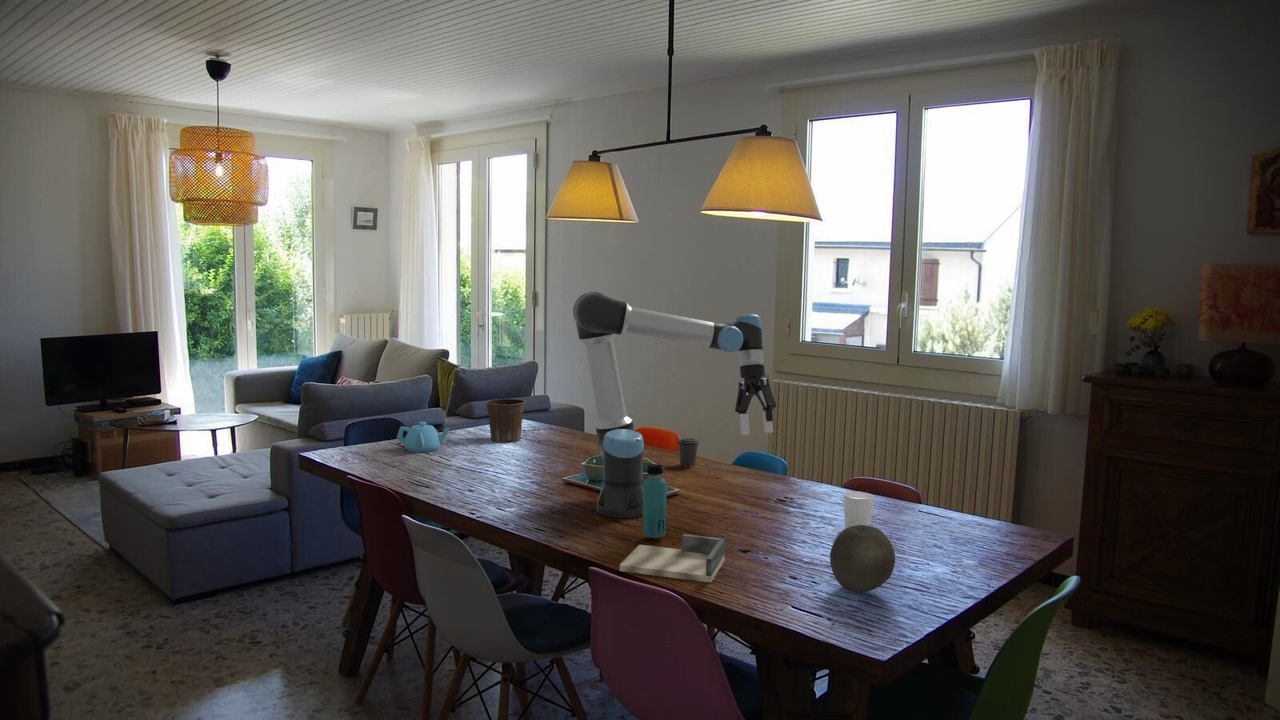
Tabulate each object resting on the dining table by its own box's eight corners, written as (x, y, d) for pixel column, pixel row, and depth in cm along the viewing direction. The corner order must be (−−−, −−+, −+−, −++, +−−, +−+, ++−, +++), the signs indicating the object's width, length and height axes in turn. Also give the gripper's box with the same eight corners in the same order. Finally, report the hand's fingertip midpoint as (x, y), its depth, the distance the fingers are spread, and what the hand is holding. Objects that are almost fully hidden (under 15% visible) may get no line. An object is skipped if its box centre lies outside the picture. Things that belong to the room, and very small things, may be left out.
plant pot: (479, 442, 346) (479, 403, 344) (492, 435, 362) (493, 397, 360) (518, 444, 343) (518, 405, 341) (529, 437, 359) (530, 399, 357)
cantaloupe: (824, 598, 187) (827, 531, 185) (833, 577, 200) (836, 514, 198) (890, 608, 182) (894, 540, 180) (895, 586, 195) (899, 522, 193)
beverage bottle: (658, 544, 221) (660, 469, 219) (636, 540, 224) (638, 465, 222) (670, 538, 226) (672, 464, 224) (649, 533, 230) (651, 461, 228)
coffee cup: (702, 465, 313) (703, 438, 312) (691, 469, 306) (692, 442, 305) (683, 462, 317) (684, 436, 316) (672, 466, 310) (673, 439, 309)
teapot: (426, 443, 342) (426, 417, 341) (450, 449, 332) (450, 422, 331) (394, 449, 330) (394, 422, 329) (418, 455, 320) (418, 427, 319)
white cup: (855, 535, 232) (857, 500, 231) (836, 527, 239) (838, 493, 238) (877, 532, 236) (879, 497, 235) (858, 524, 243) (859, 490, 242)
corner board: (619, 570, 201) (619, 548, 200) (639, 550, 216) (639, 529, 216) (710, 582, 195) (711, 559, 194) (724, 560, 210) (725, 538, 209)
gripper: (784, 359, 253) (789, 431, 251) (741, 369, 276) (746, 434, 274) (762, 359, 250) (768, 432, 248) (721, 369, 273) (726, 435, 271)
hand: (756, 433), depth 261 cm, fingers open, 13 cm apart
